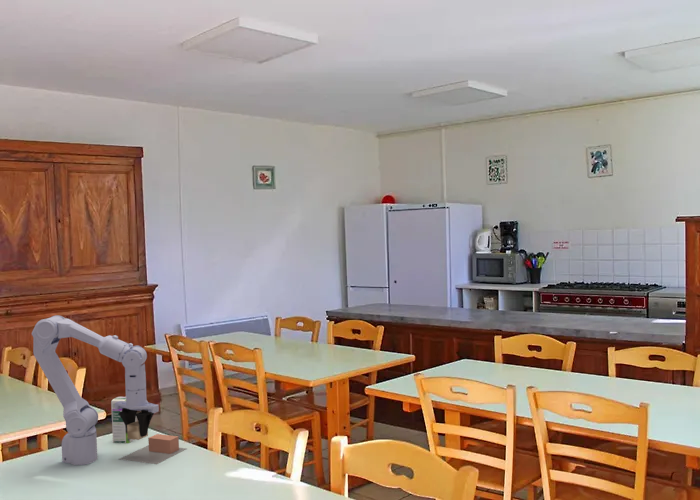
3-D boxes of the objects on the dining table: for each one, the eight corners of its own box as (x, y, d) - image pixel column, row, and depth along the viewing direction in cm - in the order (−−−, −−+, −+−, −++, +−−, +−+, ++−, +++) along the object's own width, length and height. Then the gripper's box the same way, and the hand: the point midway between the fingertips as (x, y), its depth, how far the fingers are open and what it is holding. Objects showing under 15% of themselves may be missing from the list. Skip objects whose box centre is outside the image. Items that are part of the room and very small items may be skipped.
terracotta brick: (148, 451, 198) (148, 437, 198) (157, 447, 202) (157, 434, 202) (170, 453, 195) (169, 440, 195) (179, 449, 199) (178, 436, 199)
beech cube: (127, 438, 192) (127, 424, 192) (137, 434, 195) (136, 421, 195) (138, 439, 190) (138, 426, 190) (147, 435, 194) (147, 422, 194)
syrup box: (112, 446, 208) (110, 400, 207) (121, 440, 214) (119, 395, 213) (129, 446, 207) (127, 400, 206) (138, 440, 213) (136, 395, 212)
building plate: (118, 462, 192) (118, 459, 192) (150, 447, 205) (150, 444, 205) (156, 467, 186) (156, 464, 186) (187, 451, 199) (187, 448, 199)
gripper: (164, 387, 193) (166, 433, 193) (126, 384, 199) (127, 428, 199) (148, 392, 187) (150, 440, 187) (108, 389, 192) (110, 435, 193)
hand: (137, 435), depth 193 cm, fingers closed on beech cube, 4 cm apart
